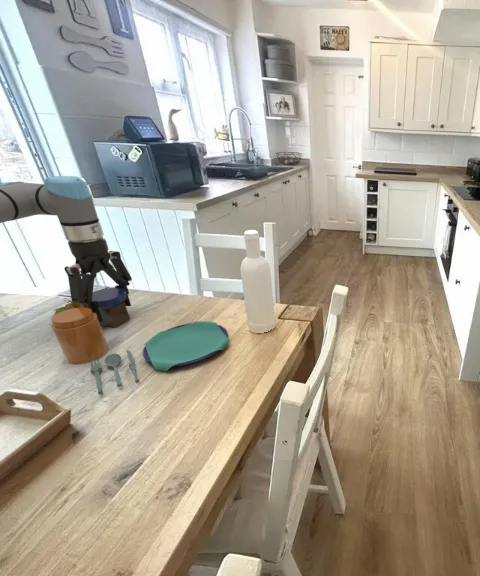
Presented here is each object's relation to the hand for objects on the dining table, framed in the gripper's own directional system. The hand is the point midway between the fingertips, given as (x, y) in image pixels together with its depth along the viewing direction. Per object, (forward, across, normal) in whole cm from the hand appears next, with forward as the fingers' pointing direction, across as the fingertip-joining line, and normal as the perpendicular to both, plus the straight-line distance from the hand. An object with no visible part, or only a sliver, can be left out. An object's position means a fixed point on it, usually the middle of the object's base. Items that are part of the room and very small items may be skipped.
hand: (112, 312), depth 95 cm
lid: (-6, 0, 0) cm, 6 cm away
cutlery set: (+3, -10, -25) cm, 27 cm away
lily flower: (+3, +3, +16) cm, 17 cm away
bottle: (+4, +8, -42) cm, 43 cm away
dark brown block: (+3, 0, 0) cm, 3 cm away
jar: (+3, -14, -6) cm, 16 cm away
